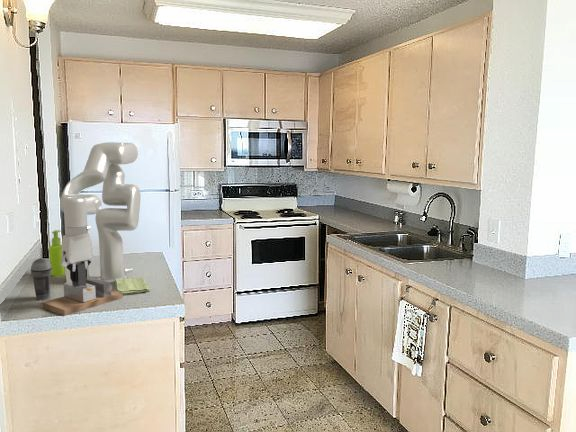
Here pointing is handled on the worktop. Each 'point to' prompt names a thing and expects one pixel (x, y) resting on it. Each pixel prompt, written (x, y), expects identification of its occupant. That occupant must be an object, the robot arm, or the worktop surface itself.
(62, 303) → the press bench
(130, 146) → the robot arm
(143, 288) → the washcloth
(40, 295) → the beverage cup
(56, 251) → the soap dispenser
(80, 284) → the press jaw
